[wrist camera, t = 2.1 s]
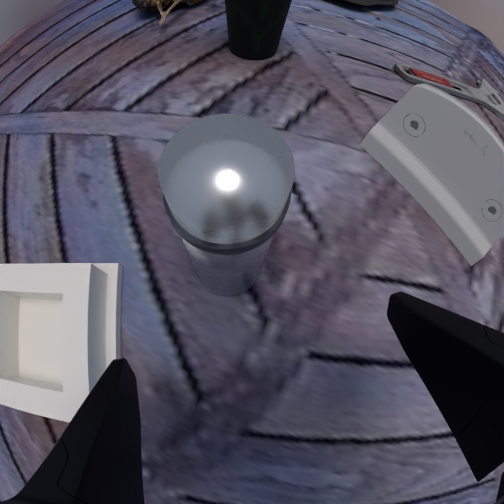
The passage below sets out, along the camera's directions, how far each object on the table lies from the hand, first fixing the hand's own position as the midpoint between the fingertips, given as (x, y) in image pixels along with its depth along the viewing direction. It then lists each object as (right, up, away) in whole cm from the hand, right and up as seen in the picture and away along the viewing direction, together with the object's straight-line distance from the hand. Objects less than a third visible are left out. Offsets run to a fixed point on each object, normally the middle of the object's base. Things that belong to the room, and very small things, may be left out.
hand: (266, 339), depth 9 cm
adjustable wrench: (+31, +26, +24) cm, 47 cm away
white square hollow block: (-16, -4, +10) cm, 19 cm away
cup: (0, +27, +21) cm, 34 cm away
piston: (-2, +2, +13) cm, 13 cm away
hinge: (+18, +9, +17) cm, 27 cm away
